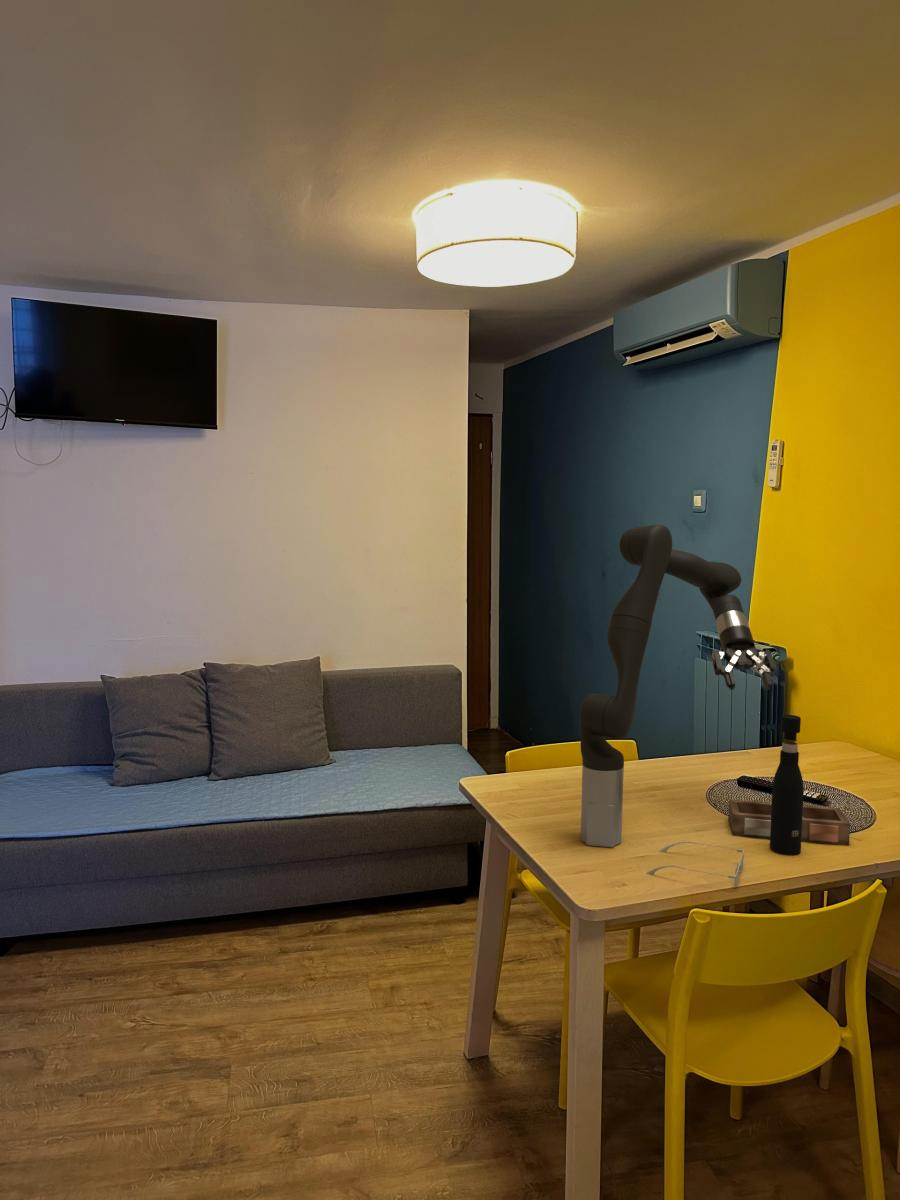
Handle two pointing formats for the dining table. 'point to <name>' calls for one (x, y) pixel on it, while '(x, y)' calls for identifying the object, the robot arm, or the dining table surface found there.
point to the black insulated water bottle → (787, 793)
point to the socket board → (815, 822)
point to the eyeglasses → (736, 877)
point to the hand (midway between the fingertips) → (750, 688)
